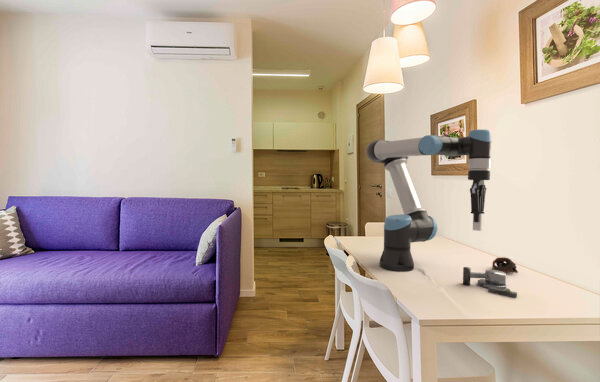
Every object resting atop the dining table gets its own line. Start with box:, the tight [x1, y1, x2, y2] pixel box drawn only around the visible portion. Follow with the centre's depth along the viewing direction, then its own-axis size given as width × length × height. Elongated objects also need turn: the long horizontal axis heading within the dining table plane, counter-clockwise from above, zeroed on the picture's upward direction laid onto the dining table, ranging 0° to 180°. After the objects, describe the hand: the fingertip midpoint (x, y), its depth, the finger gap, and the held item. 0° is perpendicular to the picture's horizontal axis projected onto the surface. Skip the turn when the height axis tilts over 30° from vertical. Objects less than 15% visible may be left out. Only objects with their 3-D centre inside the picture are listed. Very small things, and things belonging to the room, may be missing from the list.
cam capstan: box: [462, 266, 507, 290], centre depth 118 cm, size 14×9×6 cm, turn 84°
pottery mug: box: [491, 256, 519, 274], centre depth 138 cm, size 12×10×8 cm
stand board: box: [457, 282, 518, 299], centre depth 119 cm, size 20×19×4 cm
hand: (476, 230), depth 126 cm, fingers closed
